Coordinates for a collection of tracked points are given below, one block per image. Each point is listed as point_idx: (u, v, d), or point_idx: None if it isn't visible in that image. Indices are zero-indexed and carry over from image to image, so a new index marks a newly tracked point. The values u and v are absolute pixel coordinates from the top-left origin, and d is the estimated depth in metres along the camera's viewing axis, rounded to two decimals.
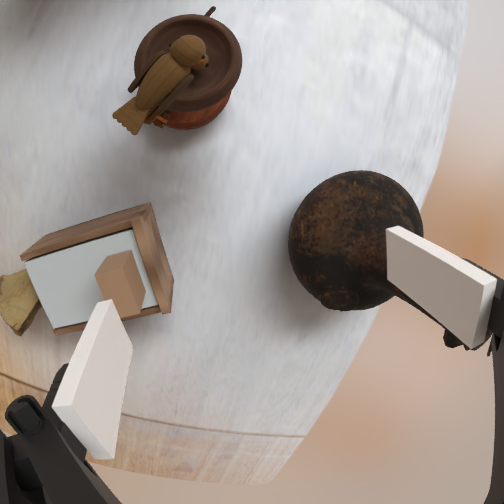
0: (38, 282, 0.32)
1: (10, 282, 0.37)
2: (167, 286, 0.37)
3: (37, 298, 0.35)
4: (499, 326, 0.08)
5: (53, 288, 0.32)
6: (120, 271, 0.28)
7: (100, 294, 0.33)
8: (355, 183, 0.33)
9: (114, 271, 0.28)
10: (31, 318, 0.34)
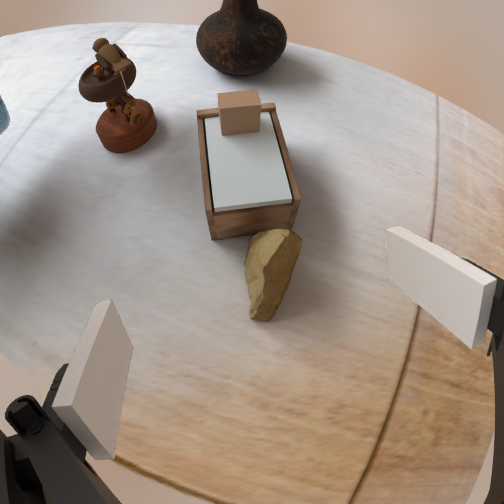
0: (237, 197, 0.37)
1: (254, 289, 0.39)
2: None
3: (266, 232, 0.39)
4: (499, 326, 0.08)
5: (246, 183, 0.38)
6: (220, 94, 0.37)
7: (255, 145, 0.40)
8: (199, 33, 0.50)
9: (219, 97, 0.37)
10: None
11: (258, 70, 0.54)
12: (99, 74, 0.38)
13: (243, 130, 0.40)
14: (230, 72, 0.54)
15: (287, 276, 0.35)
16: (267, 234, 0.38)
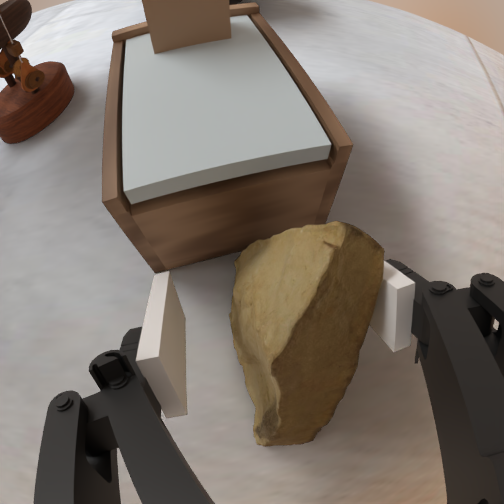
0: (184, 156, 0.13)
1: (257, 386, 0.15)
2: None
3: (269, 240, 0.15)
4: (423, 333, 0.10)
5: (206, 123, 0.14)
6: None
7: (225, 56, 0.16)
8: None
9: None
10: None
11: None
12: None
13: (197, 37, 0.17)
14: None
15: (348, 366, 0.11)
16: (272, 246, 0.14)
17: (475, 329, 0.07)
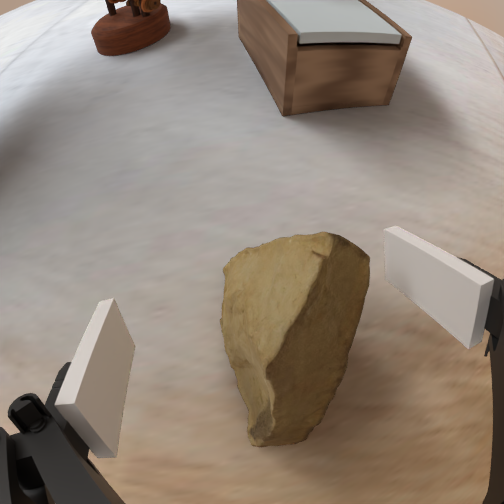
0: (329, 26, 0.19)
1: (250, 389, 0.15)
2: None
3: (258, 249, 0.15)
4: (496, 326, 0.08)
5: (334, 17, 0.20)
6: None
7: None
8: None
9: None
10: None
11: None
12: None
13: None
14: None
15: (337, 367, 0.11)
16: (261, 254, 0.14)
17: None
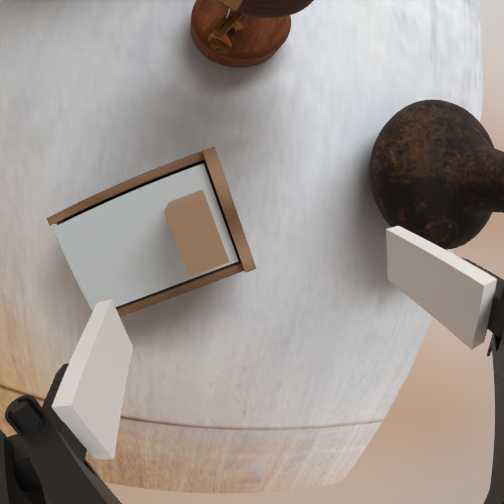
0: (72, 252, 0.25)
1: None
2: None
3: None
4: (499, 326, 0.08)
5: (94, 258, 0.26)
6: (202, 202, 0.22)
7: (160, 256, 0.27)
8: (434, 106, 0.27)
9: (193, 203, 0.22)
10: None
11: None
12: None
13: None
14: None
15: None
16: None
17: None
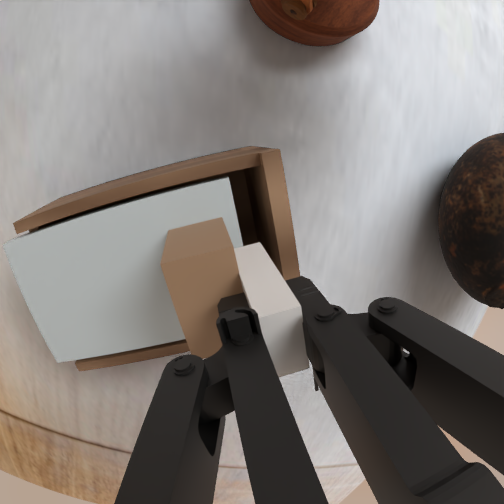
0: (28, 281, 0.16)
1: None
2: None
3: None
4: (317, 362, 0.10)
5: (57, 294, 0.17)
6: (227, 255, 0.13)
7: (149, 304, 0.18)
8: None
9: (211, 256, 0.13)
10: None
11: None
12: None
13: None
14: (443, 194, 0.26)
15: None
16: None
17: (375, 353, 0.07)
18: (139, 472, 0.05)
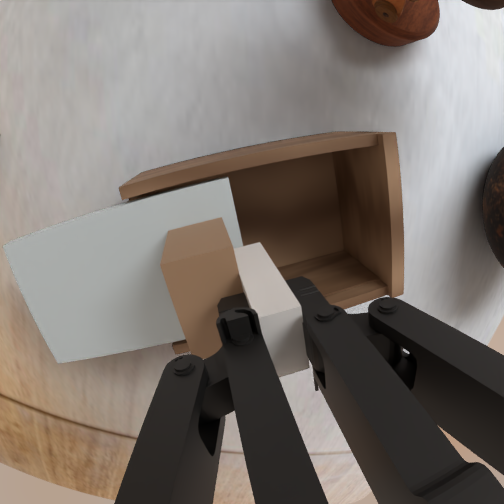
0: (28, 282, 0.16)
1: None
2: None
3: None
4: (317, 362, 0.10)
5: (57, 295, 0.17)
6: (227, 256, 0.13)
7: (149, 305, 0.18)
8: None
9: (211, 256, 0.13)
10: None
11: (486, 230, 0.28)
12: None
13: None
14: (488, 183, 0.27)
15: None
16: None
17: (375, 353, 0.07)
18: (139, 472, 0.05)
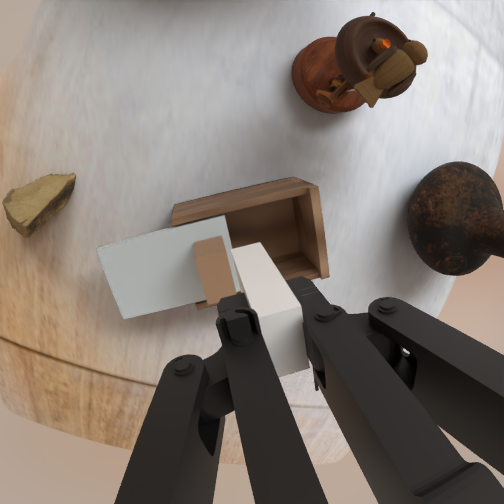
0: (111, 270, 0.34)
1: (22, 191, 0.34)
2: None
3: (52, 196, 0.32)
4: (317, 362, 0.10)
5: (129, 277, 0.34)
6: (223, 254, 0.30)
7: (182, 281, 0.35)
8: (465, 171, 0.36)
9: (216, 255, 0.30)
10: (43, 218, 0.32)
11: None
12: (375, 48, 0.25)
13: None
14: (410, 203, 0.44)
15: (11, 225, 0.31)
16: (47, 198, 0.32)
17: (375, 353, 0.07)
18: (139, 472, 0.05)
